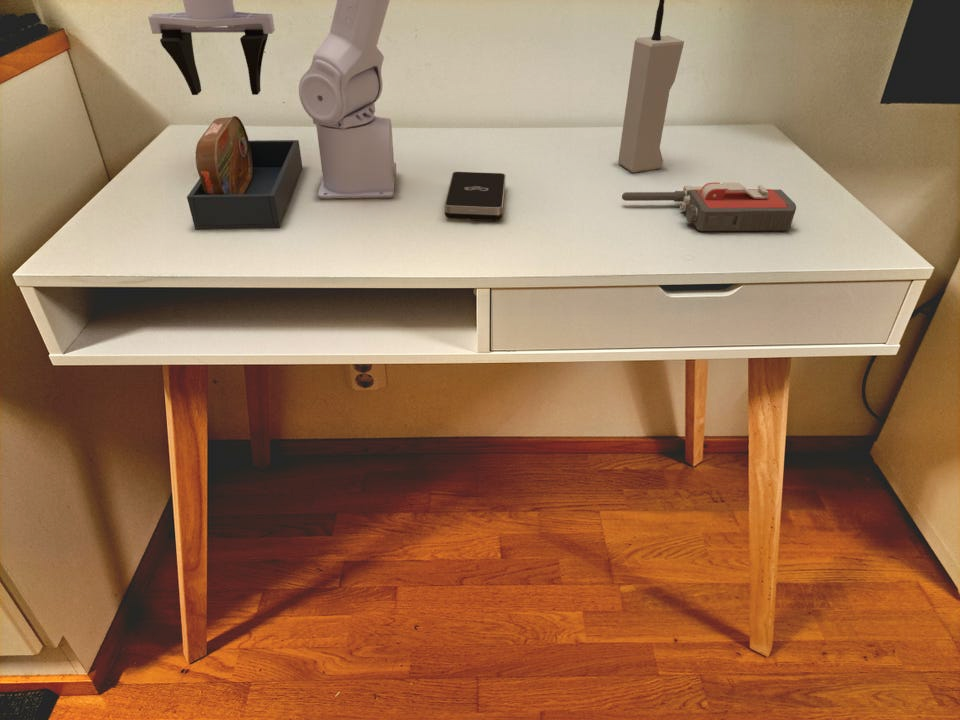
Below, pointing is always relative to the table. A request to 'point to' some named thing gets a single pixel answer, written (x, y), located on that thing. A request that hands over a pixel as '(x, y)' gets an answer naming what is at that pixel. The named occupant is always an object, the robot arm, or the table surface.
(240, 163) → the tin
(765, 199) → the walkie-talkie
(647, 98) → the vintage mobile phone
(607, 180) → the table surface
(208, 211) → the bin
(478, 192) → the external hard drive
